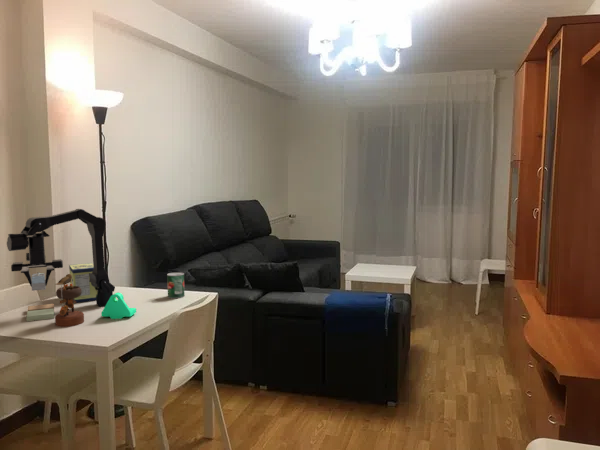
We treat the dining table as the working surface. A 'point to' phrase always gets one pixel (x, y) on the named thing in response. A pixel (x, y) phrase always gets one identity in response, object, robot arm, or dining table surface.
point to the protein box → (83, 281)
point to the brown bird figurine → (68, 304)
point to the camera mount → (117, 308)
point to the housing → (38, 281)
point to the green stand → (40, 314)
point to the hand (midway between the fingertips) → (38, 285)
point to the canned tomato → (175, 285)
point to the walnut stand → (40, 307)
